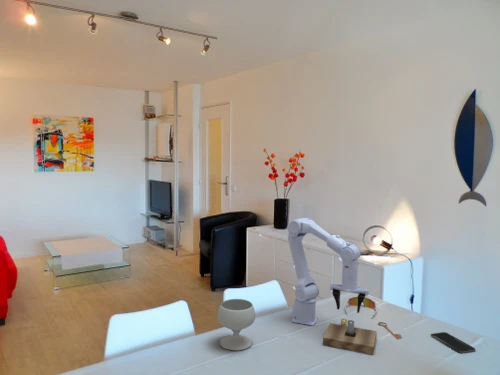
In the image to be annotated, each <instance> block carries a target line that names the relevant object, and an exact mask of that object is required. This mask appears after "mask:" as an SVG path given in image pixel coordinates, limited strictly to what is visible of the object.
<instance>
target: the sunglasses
mask: <svg viewBox="0 0 500 375" xmlns="http://www.w3.org/2000/svg"><path fill="white" fill-rule="evenodd" d="M362 303H363V307H365V308H369V309H371V310H373V311H374V310H375V312H374V313H373V315H372V316H371V317H370V320H372V319H373V318H374V317H375V315H376V313H377V311H378V306H377V302H376V301H375V300H373V299H372V298H371V297H367V296H365V298H364V300H363V302H362ZM346 305H348V306H349V307H353V306H354V307H356V306H357V307H358V295H353V296H351V297H349V298H348V299H347V300H345V303H344V310H345V311H344V312H345V314H346V316H349V314H348V312H347V308H346Z"/></svg>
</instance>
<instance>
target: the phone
mask: <svg viewBox="0 0 500 375" xmlns="http://www.w3.org/2000/svg"><path fill="white" fill-rule="evenodd" d="M430 338H432V339H434V340H435V341H436V342H438V343H441V344H442V345H443V346H445V347H447V348H448V349H450V348H451V350H452V351H454V352H455V353H456V354H457V353H458V354H462V355H463V353H464V354H469V353H474V352H476V348H475V347H473V346H471V345H470V344H468V343H466V342H465V341H462V340H461V339H459V338H457V337H455V336H454V335H452V334H450V333H448V332H445V331H441V332H434V333H430Z"/></svg>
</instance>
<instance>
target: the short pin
mask: <svg viewBox="0 0 500 375" xmlns="http://www.w3.org/2000/svg"><path fill="white" fill-rule="evenodd" d="M340 325H344V326H348V320H347V319H346V318H341V319H340Z"/></svg>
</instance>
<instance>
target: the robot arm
mask: <svg viewBox="0 0 500 375" xmlns="http://www.w3.org/2000/svg"><path fill="white" fill-rule="evenodd" d="M287 231H288V235H287V240H288V245H289V249H290V252H291V257H292V261H293V265H294V269H295V273H296V274H295V275H296V278H297V280H296V283H295V284H294V287H295V288H294V289H295V292H294V294H295V298H294V299H293V302H292V312H291V313H292V314H291V315H292V316H291V317H292V318H291V319H292V320H291V322H292V323H296V324H302V325H303V324H304V325H308V326H315V324H316V322H317V321H318V317H316V302H317V301H316V300H317V297H319V294H320V289H319V286H318V285H317V283H316V281H315V279H314V278H313V277H312V276H311V274H310V270H309V265H308V262H307V258H306V253H305V249H304V245H303V239H304V237H305V236H306V235H307V234H312V235H314V236H315V237H317V238H319V239H321V240H322V241H324V242H325V243H326V246H327V247H328V248H329V249H330V250H332V251H333V252H336V253H337V254H338V255H339V256H340V259H341V262H342V268H341V269H342V273H341V284H334V283H331V284H330V285H329V290H330V291H332V292H331V294H332V296H333V299H334V301H335V303H336V310H339V309H340V308H341V292H343V293H344V292H345V293H352V294H357V296H358V306H357V308H356V313H358V314H360V311H361V306H362V303H363V300H364V298H365V297H367V296H369V292H370V289H368V288H365V287H364V288H363V287H359V286H358V270H359V268H358V266H359V258H361V255H362V251H361V248H360V247H359V246H358V245H357V244H351V242H349V241H346V240H345V239H343V238H341V235H340V234H337V235H336V234H332V235H331V234H330V233H329V232H328V231H326V230H325V229H323V228H322V227H321V226H320V225H318V224H317V223H316V222H315V221H314V219H311V218H310V217H302V218H301V217H300V218H296V219H291V220H290V221H289V222H288V225H287Z"/></svg>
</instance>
